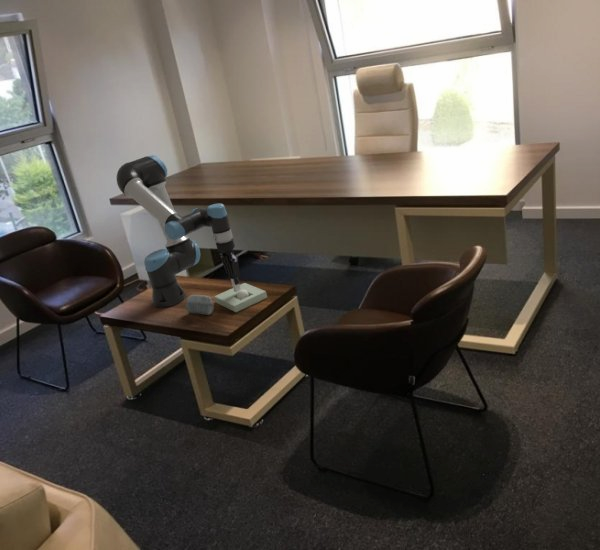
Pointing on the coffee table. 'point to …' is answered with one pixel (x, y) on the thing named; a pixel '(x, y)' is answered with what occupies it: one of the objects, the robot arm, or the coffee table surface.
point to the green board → (234, 304)
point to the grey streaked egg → (199, 304)
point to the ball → (242, 294)
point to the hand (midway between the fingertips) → (237, 290)
